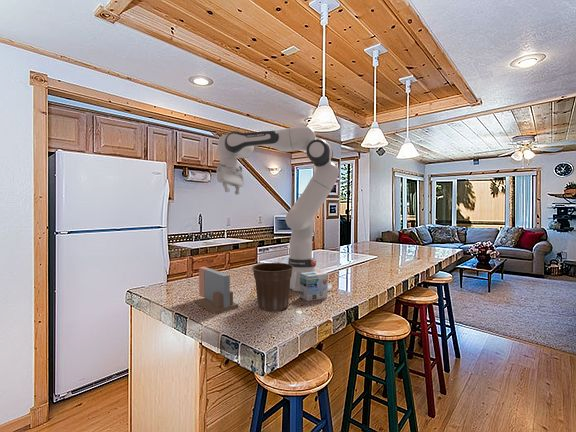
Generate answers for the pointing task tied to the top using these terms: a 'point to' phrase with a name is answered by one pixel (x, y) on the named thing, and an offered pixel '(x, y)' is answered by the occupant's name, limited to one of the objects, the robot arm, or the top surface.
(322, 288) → the light bulb box
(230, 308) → the ticket holder
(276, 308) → the plant pot
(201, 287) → the stub
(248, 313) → the top surface
